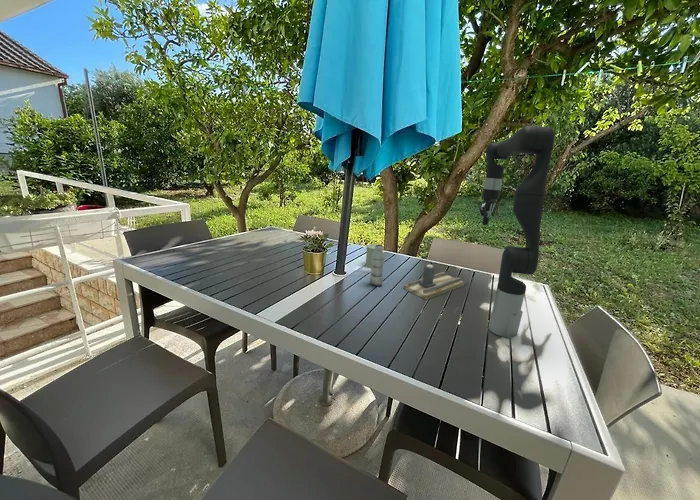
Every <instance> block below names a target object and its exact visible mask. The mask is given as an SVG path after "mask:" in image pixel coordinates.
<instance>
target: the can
mask: <svg viewBox="0 0 700 500" xmlns="http://www.w3.org/2000/svg"><path fill="white" fill-rule="evenodd" d="M375 245H379V244H376V243H371V244H370V243H368V244H367V245H366V253H365V255H366V256H365V266H366V267H368V268H370V269H372V260H371V255H372V253H373V252H374V251H375Z"/></svg>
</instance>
